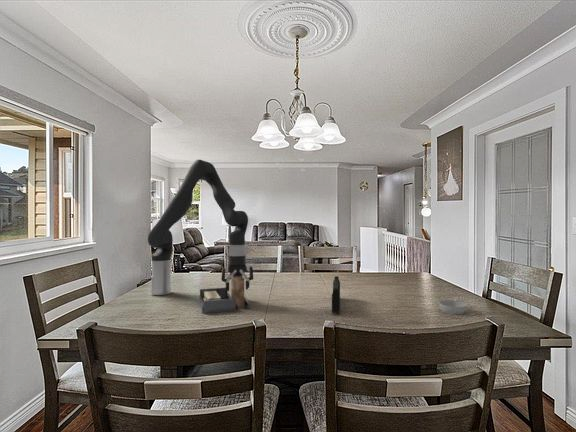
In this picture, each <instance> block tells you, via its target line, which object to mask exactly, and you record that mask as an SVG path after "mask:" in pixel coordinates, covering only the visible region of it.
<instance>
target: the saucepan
mask: <svg viewBox="0 0 576 432" xmlns="http://www.w3.org/2000/svg"><path fill="white" fill-rule="evenodd" d="M458 299H459V296H455V297H454V298H453V300H451V299H450V300H449V299H448V300H447V299H446V300H440V301H438V307H439V309H440V310H441V312H442V313H445V314H448V315H449V314H450V315H464V314H465V313H466V311H467V309H468V304H467V303H466V302H462V301H458Z"/></svg>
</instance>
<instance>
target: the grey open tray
mask: <svg viewBox="0 0 576 432" xmlns="http://www.w3.org/2000/svg"><path fill="white" fill-rule="evenodd" d="M207 291H216V292H217V293H218V295H219V296H220V297H221V299H220V300H207V301H204V302H203V298H204V292H207ZM198 301H199V304H200V309H201V313H202V314H204V315H205V314H216V313H227V312H230V313H231V312H236V310H237V307H236V303H235V298H233V299H232V297H231V294H230V293H229V291H227V290H226V286H225V287H213V288H211V287H210V288H200V289H199V295H198ZM250 303H251V302H250V301H249V300H248V299H247V298H246V296H245V295H244V307H245V308H246V309H247V310H250V309H251V306H250V305H251V304H250Z"/></svg>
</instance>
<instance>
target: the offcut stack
mask: <svg viewBox="0 0 576 432" xmlns="http://www.w3.org/2000/svg"><path fill="white" fill-rule="evenodd" d="M220 299H221V297H220V296H219V295H218V293H217V292H216V291H207V292H204V298H203V302H204V301H207V300H220Z"/></svg>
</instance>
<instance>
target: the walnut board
mask: <svg viewBox="0 0 576 432" xmlns="http://www.w3.org/2000/svg"><path fill="white" fill-rule="evenodd" d="M230 280H231V281H230V282H231V283H230V285H231V286H230V288H231V290H230V291H231V294H230V296H231V297H232V299H233V298H235V303H236V310H237V309H245V305H244V296H245V278H244V277H243V276H241V275H239V276H235V277H232V278H231V279H230Z"/></svg>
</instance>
